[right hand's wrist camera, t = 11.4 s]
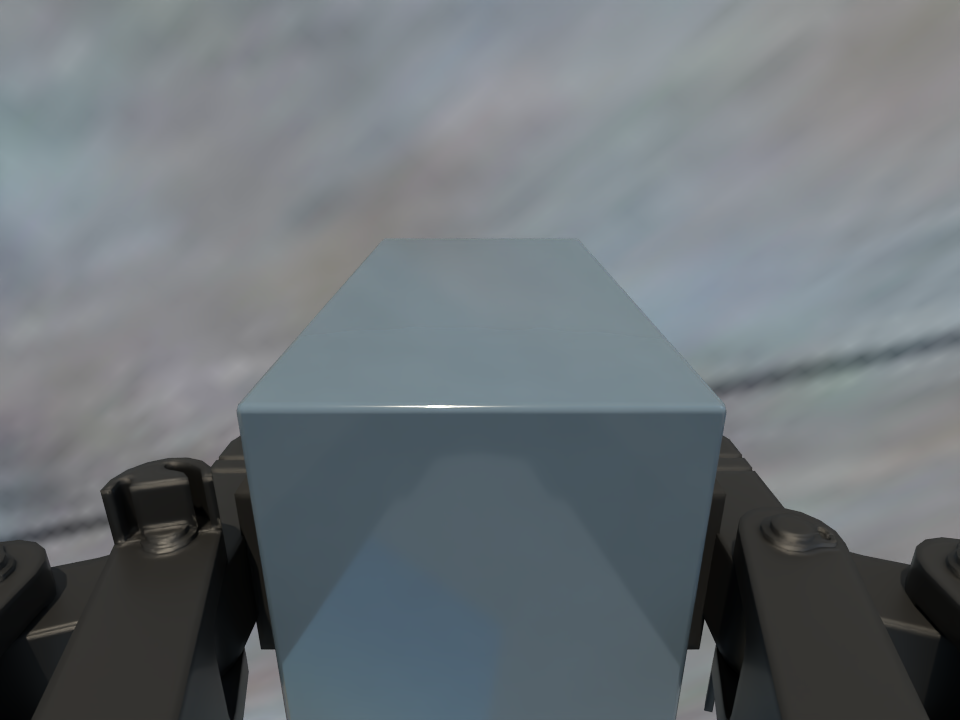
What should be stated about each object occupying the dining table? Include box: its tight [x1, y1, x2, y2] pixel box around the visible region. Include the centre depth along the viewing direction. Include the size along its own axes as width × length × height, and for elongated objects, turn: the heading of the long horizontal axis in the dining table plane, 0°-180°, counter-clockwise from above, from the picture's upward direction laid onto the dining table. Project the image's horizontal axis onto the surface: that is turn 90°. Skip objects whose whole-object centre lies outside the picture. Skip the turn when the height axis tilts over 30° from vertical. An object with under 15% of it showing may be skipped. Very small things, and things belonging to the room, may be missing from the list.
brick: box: [237, 239, 726, 720], centre depth 12 cm, size 6×5×10 cm
